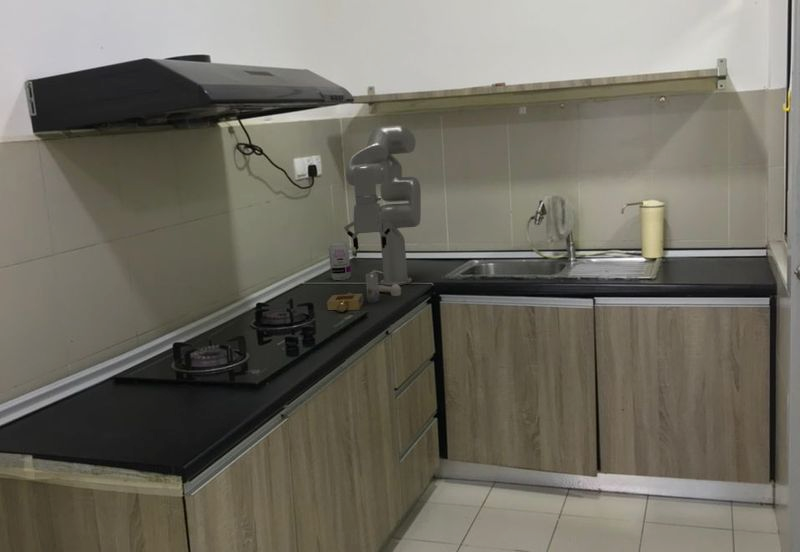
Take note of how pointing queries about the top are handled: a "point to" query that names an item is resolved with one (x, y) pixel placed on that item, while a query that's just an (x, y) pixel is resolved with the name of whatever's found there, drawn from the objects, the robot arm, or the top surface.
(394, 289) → the faucet
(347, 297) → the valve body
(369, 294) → the pipe stub
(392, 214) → the robot arm
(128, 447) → the top surface
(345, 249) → the supplement can
